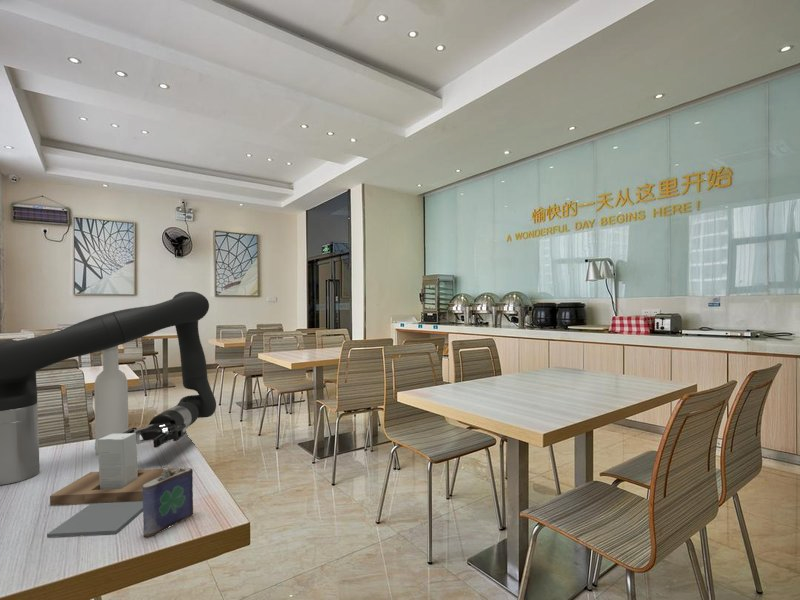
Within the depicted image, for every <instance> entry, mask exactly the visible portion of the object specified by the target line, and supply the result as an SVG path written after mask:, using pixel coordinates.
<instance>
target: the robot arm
mask: <svg viewBox="0 0 800 600" xmlns="http://www.w3.org/2000/svg"><path fill="white" fill-rule="evenodd" d="M209 310H210V303H209V300H208V298H207V297H206V296H205V295H203V294H202V293H199V292H197V291H182V292H178V293H177V294H175V295H174V296H173V297H172V299H169V300H166V301H162V302H160V303H156V304H152V305H145V306H139V307H130V308H125V309H121V310H116V311H115V310H114V311H112V312H109V313H108V312H107V313H103V314H101V315H96V316H94V317H91V318H88V319H85V320H82V321H80V322H77V323H74V324H72V325H70V326H67V327H65V328H62V329H61V330H58V331H54V332H51V333H48V334H44V335H38V336H35V337H30V338H23V339H19V340H17V339H9V340H8V339H7V340H3V341H1V342H0V485H1V486H2V485H8V484H9V485H10V484H14V483H17V482H22V481H25V480H27V479H30V478H33V477H34V476H36V475H38V474H40V471H41V469H40V467H41V466H40V440H39V439H40V438H39V433H40V432H39V414H38V413H39V411H38V409H39V408H38V385H37V371H39V370H41V369H44V368H47V367H50V366H52V365H54V364H57V363H60V362H63V361H66V360H68V359H73V358H76V357H83V356H86V355H90V354H93V353H97V352H102V350H105V349H109V348H112V347H115V346H118V347H119V346H121V345H123V344H124V345H125V344H127V343H129V342H133V341H135V340H138V339H140V338H143V337H146V336H148V335H151V334H153V333H155V332H158V331H161V330H163V329H167V328H171V327H175V332H176V336H177V340H178V347H179V356H180V366H181V378H182V385H183V388H184V389H187V390H192V391H195V392H196V393H198V394H192V395H187V396H182V398H180V400H179V402H178V403H177V404H176V405H175V406H173V407H170V408H168V409H166V410H164V411H162V412H161V413H159V414H157V415H155V416H154V417H153V418H152V419H151V420H150V421H149V424H148V425H146V426H145V427H141V428H137V427H131V428H130V429H129V428H128V430H127V431H126V432H124V433H136V445H141V444H143V443H147V442H153V448H154V449H155V448H156V449H157V448H159V447H160V446H162V445H164V444H165V443H166V444H167V443H169V442H171V440H172V441H173V442H178V441H179V440H180V439H181V438H182V437H184V436H185V435H186V434H187V428H189V427H190V426H191V425H193V424H194V423H196V421H197V419H200V418H201V419H202V418H209V417H212V416H213V415H214V414H215V412H216V409H217V401H216V397H215V396H214V393H213V391H212V388H211V385H210V382H209V378H208V368H207V360H206V355H205V352H204V349H203V346H202V343H201V342H202V341H201V338H200V333H199V321H200V320H202V319H203V318H204V317H206V315H207V313H208V312H209ZM122 434H123V433H122ZM140 436H141V438H142V439H141V438H140Z"/></svg>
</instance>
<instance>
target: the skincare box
mask: <svg viewBox="0 0 800 600" xmlns="http://www.w3.org/2000/svg"><path fill="white" fill-rule="evenodd" d="M137 452H138V451H137V444H136V433H123V434H110V435H108V436H105V437H103V438H100V439H98V453H99V456H98V472H99V482H100V490H105V489H122V488H123V487H125V486H126V485H128V484H129V483H130V482H132V481H133V480H135V479H136V478H137V477H138V471H137V470H138V457H137V456H138V453H137Z"/></svg>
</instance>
